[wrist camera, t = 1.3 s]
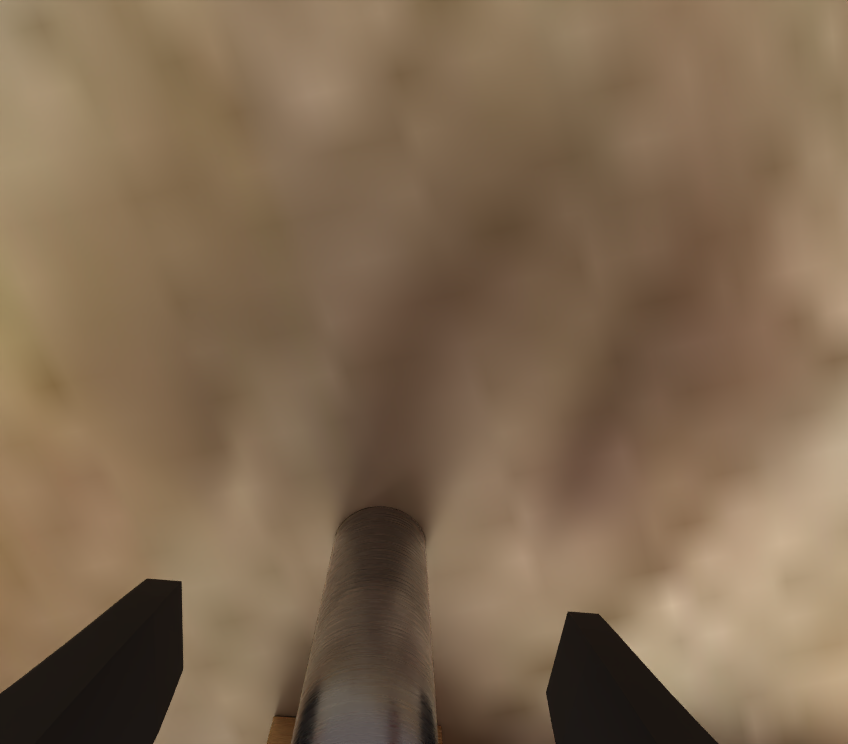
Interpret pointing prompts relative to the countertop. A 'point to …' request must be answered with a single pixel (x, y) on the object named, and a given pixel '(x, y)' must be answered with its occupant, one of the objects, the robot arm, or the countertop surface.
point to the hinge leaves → (285, 726)
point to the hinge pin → (372, 639)
